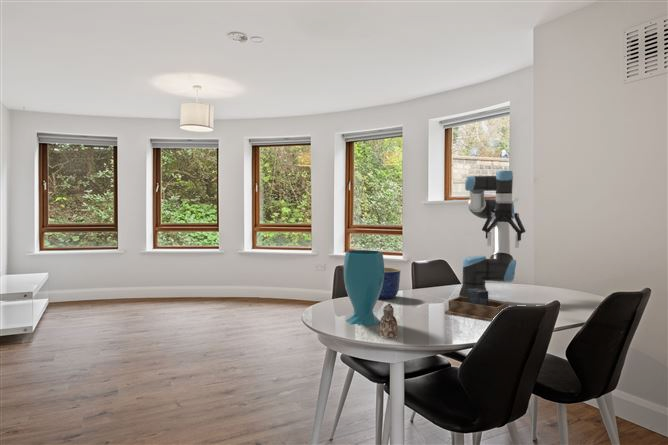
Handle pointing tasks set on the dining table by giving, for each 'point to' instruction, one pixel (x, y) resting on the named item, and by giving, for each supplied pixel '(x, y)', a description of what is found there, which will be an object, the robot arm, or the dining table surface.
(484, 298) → the box
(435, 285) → the dining table surface
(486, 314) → the tray
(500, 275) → the robot arm
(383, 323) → the figurine
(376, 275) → the vase
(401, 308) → the dining table surface
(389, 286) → the planter
